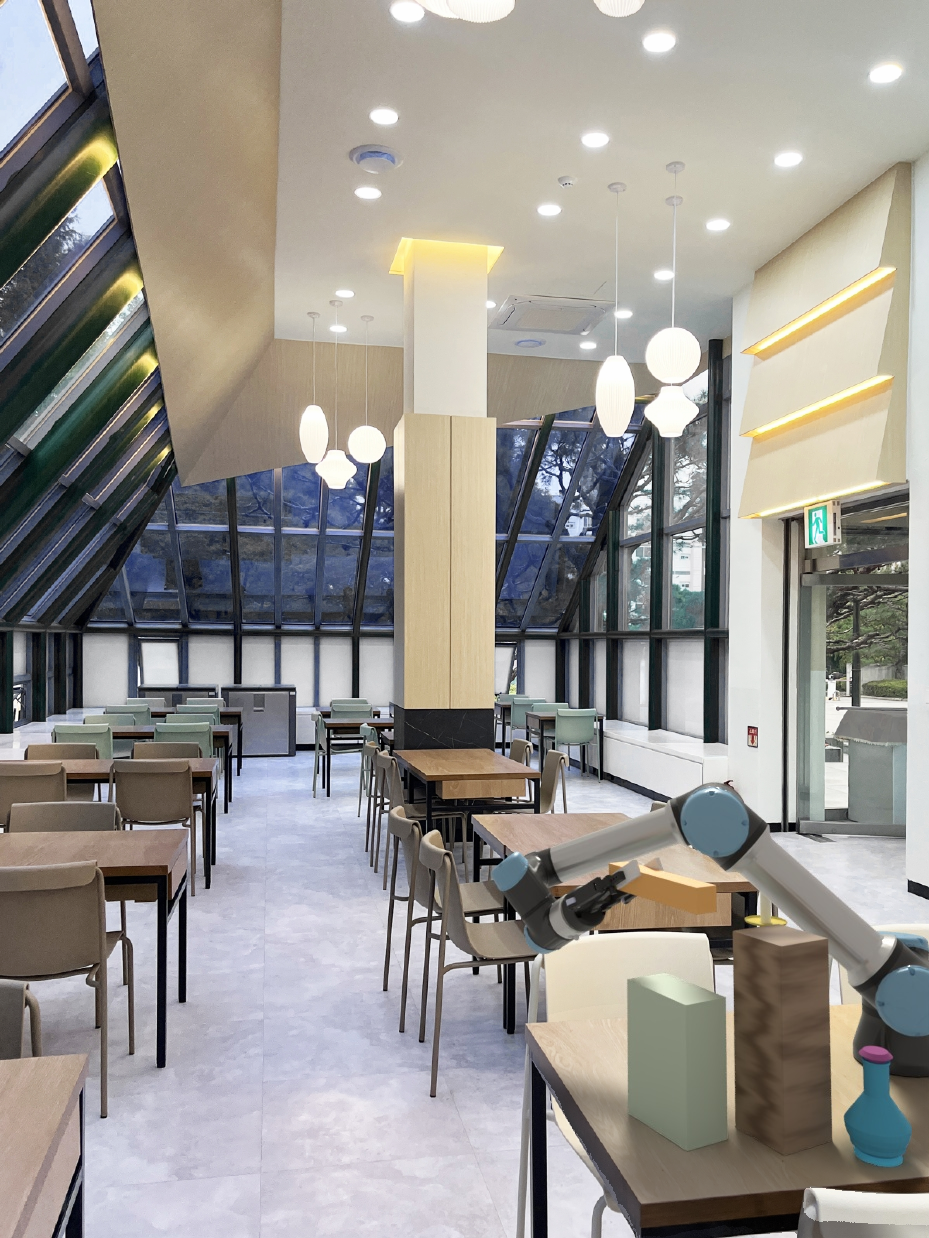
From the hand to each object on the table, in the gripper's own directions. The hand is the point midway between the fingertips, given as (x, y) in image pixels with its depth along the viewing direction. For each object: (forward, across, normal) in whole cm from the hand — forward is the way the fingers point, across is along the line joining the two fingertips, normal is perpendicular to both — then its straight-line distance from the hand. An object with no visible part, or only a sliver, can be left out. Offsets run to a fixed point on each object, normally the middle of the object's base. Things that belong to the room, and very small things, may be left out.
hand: (648, 866), depth 154 cm
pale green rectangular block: (-14, 0, -37) cm, 39 cm away
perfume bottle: (+4, -20, -47) cm, 52 cm away
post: (-5, -13, -42) cm, 44 cm away
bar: (0, 0, -5) cm, 5 cm away
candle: (-38, -48, -23) cm, 66 cm away
